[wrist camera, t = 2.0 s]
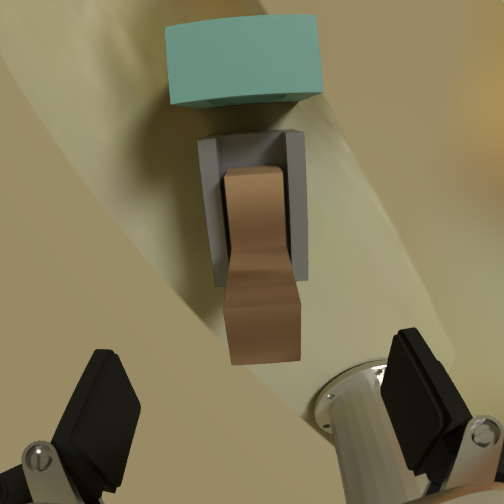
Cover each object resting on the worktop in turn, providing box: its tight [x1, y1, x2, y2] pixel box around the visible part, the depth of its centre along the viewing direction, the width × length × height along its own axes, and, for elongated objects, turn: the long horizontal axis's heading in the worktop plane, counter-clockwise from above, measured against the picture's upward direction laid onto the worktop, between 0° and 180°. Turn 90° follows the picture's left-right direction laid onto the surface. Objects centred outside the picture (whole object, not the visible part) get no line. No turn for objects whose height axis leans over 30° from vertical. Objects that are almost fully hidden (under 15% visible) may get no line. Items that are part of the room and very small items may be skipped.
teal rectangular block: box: [165, 15, 323, 109], centre depth 16 cm, size 4×7×8 cm, turn 94°
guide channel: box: [197, 129, 308, 287], centre depth 21 cm, size 9×6×5 cm, turn 4°
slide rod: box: [223, 165, 301, 365], centre depth 16 cm, size 7×3×9 cm, turn 4°
